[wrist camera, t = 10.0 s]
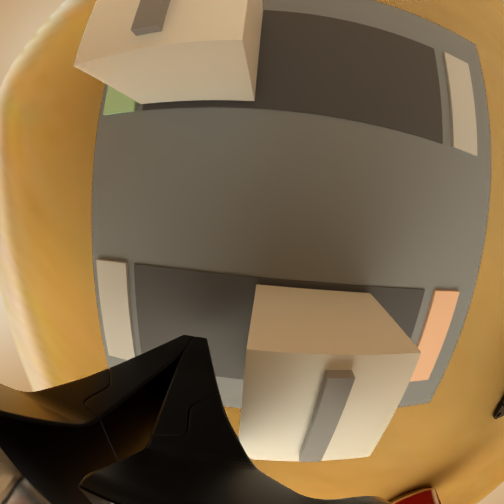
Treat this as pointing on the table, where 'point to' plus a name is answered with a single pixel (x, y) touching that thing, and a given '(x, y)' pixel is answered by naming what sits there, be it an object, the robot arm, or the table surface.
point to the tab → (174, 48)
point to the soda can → (418, 497)
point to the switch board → (300, 189)
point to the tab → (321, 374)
